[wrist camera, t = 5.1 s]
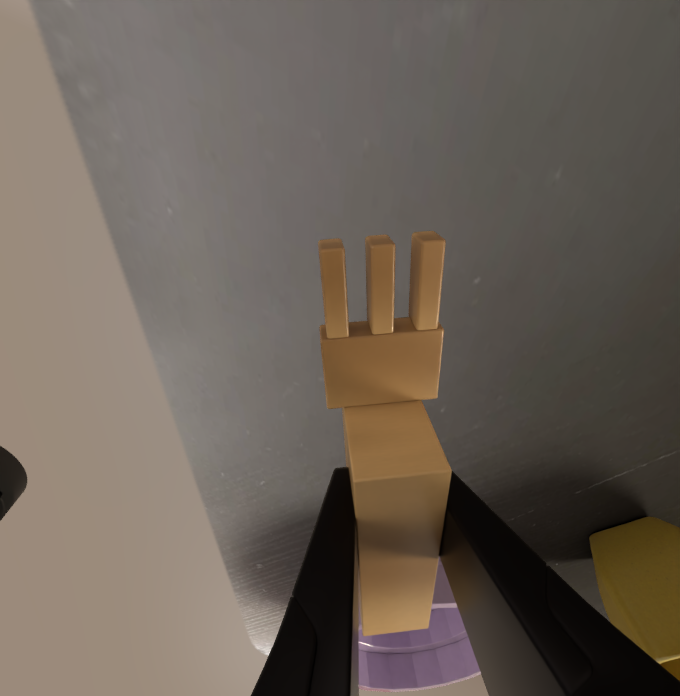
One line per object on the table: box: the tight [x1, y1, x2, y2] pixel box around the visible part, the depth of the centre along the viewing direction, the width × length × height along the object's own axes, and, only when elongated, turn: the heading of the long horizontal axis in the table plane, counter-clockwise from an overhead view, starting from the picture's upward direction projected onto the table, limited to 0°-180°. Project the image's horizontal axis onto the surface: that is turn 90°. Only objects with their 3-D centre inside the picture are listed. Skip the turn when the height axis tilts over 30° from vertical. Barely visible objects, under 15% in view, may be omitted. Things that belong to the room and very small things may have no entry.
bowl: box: [359, 556, 481, 692], centre depth 29 cm, size 15×15×6 cm
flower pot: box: [589, 517, 680, 681], centre depth 27 cm, size 9×9×9 cm
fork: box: [318, 231, 452, 636], centre depth 9 cm, size 11×3×3 cm, turn 3°
